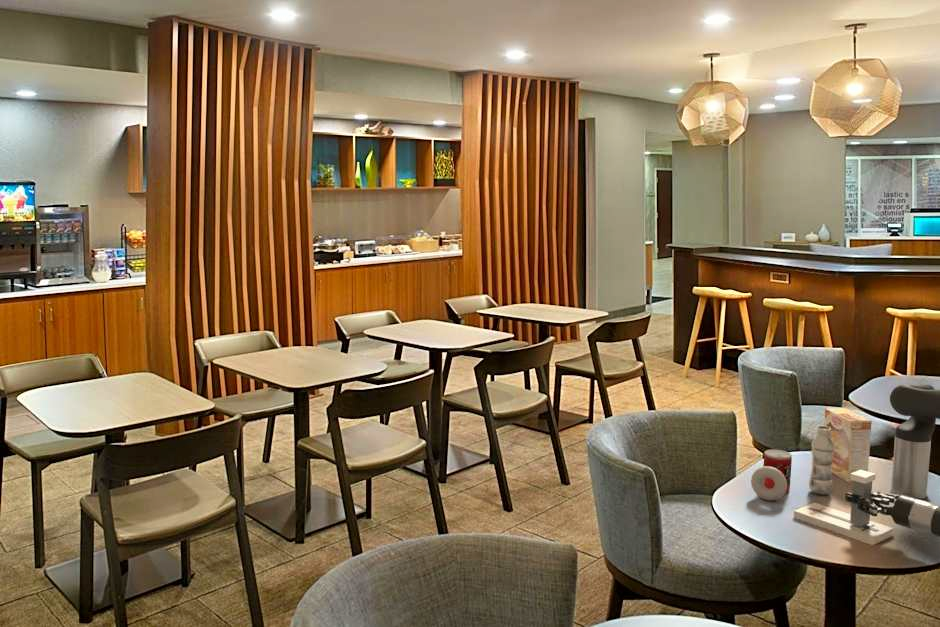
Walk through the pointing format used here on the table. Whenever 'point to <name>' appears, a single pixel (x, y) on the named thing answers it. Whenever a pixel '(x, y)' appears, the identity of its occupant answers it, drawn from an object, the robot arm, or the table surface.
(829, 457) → the plastic bottle
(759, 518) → the table surface
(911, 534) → the table surface
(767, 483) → the canned food
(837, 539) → the table surface
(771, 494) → the donut
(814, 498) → the table surface
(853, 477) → the slider knob
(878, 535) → the fader deck
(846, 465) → the coffeecake box
